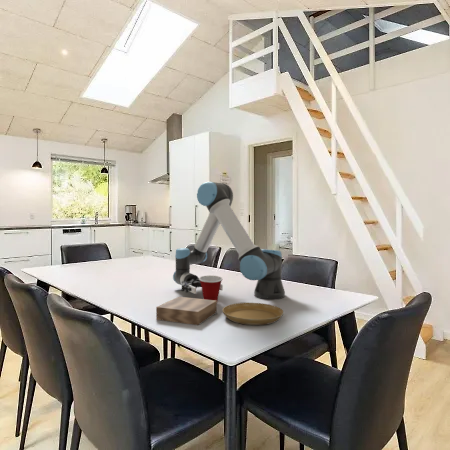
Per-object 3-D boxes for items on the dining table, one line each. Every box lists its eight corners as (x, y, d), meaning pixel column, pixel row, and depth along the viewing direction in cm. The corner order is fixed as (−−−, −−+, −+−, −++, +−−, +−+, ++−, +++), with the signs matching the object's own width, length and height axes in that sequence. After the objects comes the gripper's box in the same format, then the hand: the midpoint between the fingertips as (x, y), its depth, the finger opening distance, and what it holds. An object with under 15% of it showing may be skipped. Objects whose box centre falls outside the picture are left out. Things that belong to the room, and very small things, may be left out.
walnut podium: (216, 312, 153) (216, 300, 153) (198, 325, 136) (198, 311, 136) (178, 307, 159) (178, 296, 159) (156, 319, 143) (156, 306, 142)
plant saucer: (277, 309, 158) (277, 302, 158) (288, 327, 134) (289, 318, 134) (221, 309, 158) (221, 302, 157) (223, 328, 134) (223, 319, 133)
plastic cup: (201, 307, 160) (201, 280, 160) (196, 301, 171) (196, 276, 170) (225, 305, 163) (225, 279, 163) (219, 300, 174) (219, 274, 173)
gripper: (211, 285, 192) (232, 294, 174) (166, 291, 180) (183, 300, 161) (211, 271, 192) (232, 278, 173) (166, 275, 180) (183, 283, 161)
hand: (208, 289), depth 167 cm, fingers open, 13 cm apart
